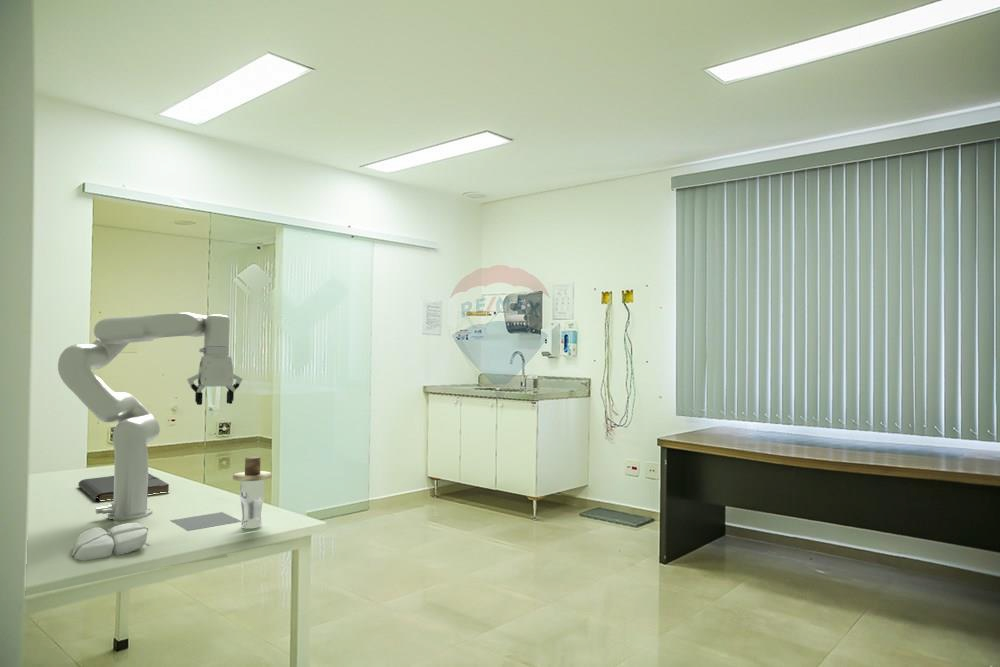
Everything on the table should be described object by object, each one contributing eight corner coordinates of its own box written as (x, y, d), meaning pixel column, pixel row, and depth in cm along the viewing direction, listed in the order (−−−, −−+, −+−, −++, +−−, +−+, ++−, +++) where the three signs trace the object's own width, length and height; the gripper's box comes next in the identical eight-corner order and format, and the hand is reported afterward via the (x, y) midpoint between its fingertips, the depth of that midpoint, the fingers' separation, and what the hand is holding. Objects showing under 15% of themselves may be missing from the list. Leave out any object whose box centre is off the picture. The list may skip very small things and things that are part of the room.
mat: (188, 532, 188) (188, 530, 188) (169, 521, 199) (169, 520, 199) (241, 522, 199) (241, 521, 199) (221, 513, 211) (221, 512, 211)
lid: (242, 482, 187) (242, 462, 187) (226, 477, 195) (227, 457, 195) (277, 477, 195) (278, 458, 195) (261, 472, 203) (262, 453, 203)
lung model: (74, 564, 159) (63, 549, 178) (151, 552, 170) (133, 540, 189) (75, 537, 160) (64, 525, 179) (152, 527, 171) (134, 517, 190)
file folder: (170, 483, 240) (95, 493, 224) (170, 494, 240) (95, 505, 224) (147, 471, 265) (78, 479, 249) (147, 481, 265) (78, 489, 248)
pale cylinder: (243, 524, 197) (244, 475, 198) (266, 523, 198) (267, 475, 199) (235, 530, 191) (237, 479, 191) (259, 530, 191) (261, 479, 192)
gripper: (192, 351, 202) (190, 405, 202) (246, 352, 214) (245, 403, 214) (184, 351, 208) (182, 404, 207) (238, 352, 220) (236, 402, 219)
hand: (214, 404), depth 210 cm, fingers open, 9 cm apart
